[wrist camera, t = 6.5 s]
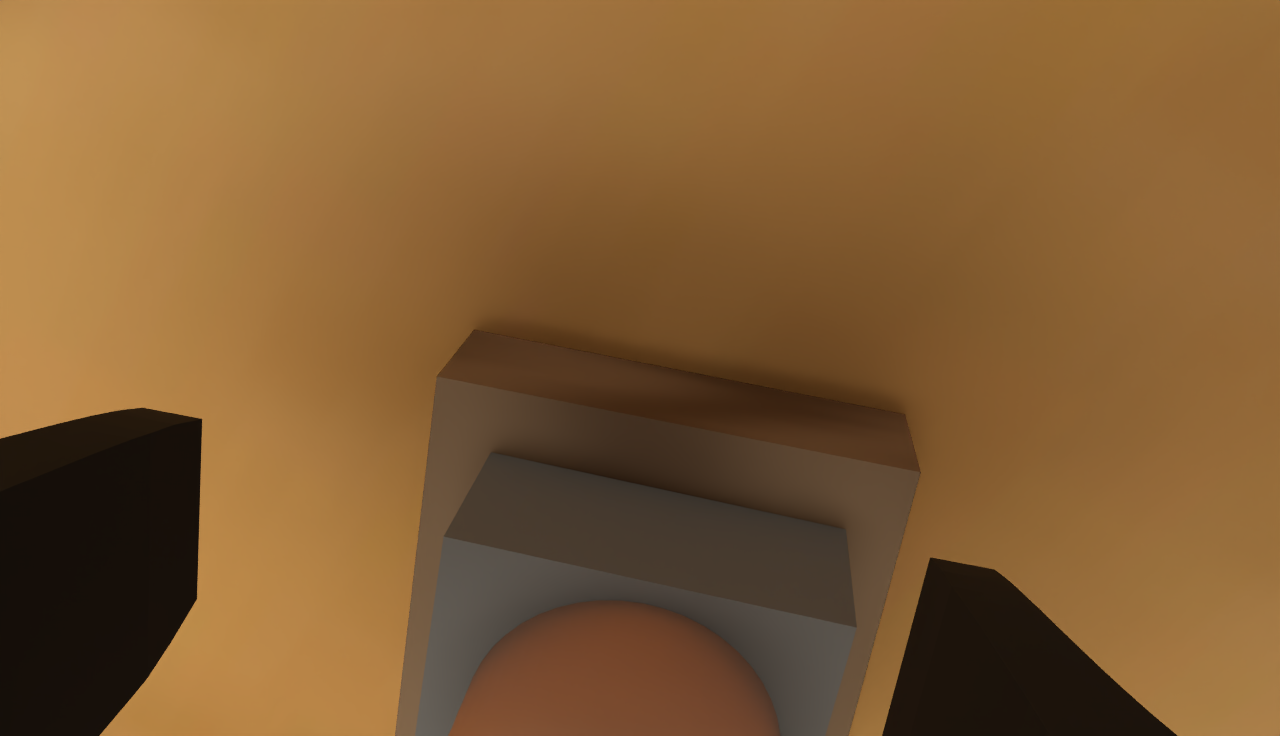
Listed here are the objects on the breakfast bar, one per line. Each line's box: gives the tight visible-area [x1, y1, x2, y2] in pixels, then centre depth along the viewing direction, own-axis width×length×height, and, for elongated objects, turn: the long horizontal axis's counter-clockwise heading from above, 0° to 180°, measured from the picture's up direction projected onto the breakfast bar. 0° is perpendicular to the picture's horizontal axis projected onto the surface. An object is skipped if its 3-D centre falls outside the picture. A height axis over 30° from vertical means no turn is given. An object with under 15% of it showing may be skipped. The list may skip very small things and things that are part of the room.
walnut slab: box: [395, 330, 921, 736], centre depth 22 cm, size 8×8×3 cm
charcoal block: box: [415, 452, 857, 736], centre depth 19 cm, size 6×6×3 cm
